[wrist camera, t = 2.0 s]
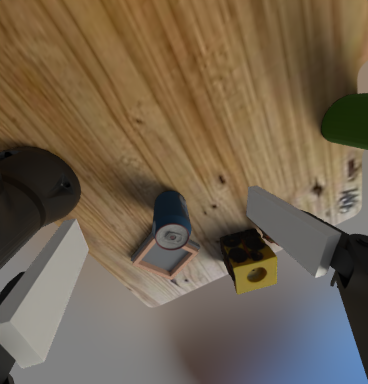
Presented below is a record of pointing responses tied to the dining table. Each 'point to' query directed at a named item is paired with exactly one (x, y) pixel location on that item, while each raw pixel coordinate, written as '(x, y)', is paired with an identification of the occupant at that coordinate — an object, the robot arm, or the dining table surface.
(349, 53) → the dining table surface
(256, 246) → the yellow black cube
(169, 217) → the soda can
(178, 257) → the coaster
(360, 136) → the wine bottle
